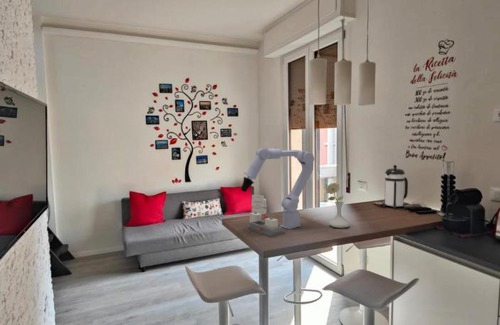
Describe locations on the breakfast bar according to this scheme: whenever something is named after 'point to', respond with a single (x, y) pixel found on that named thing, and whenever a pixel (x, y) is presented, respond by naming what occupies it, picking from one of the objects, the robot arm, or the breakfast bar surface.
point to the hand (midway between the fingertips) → (242, 190)
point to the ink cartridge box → (259, 205)
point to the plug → (255, 217)
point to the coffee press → (395, 187)
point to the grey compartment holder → (267, 227)
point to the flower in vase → (338, 219)
